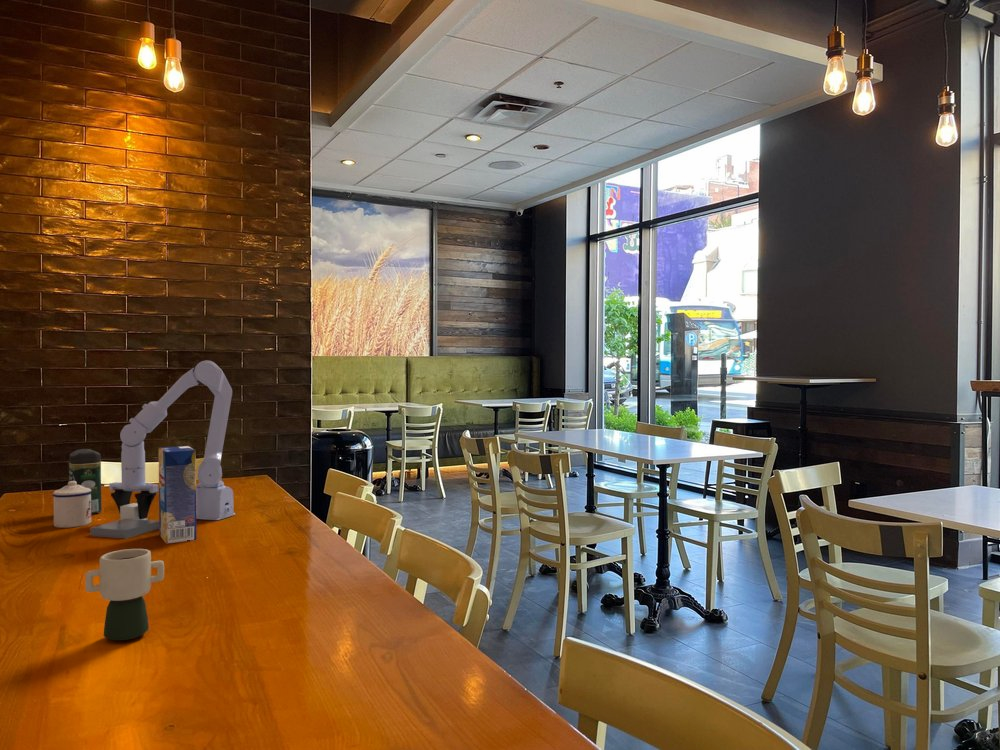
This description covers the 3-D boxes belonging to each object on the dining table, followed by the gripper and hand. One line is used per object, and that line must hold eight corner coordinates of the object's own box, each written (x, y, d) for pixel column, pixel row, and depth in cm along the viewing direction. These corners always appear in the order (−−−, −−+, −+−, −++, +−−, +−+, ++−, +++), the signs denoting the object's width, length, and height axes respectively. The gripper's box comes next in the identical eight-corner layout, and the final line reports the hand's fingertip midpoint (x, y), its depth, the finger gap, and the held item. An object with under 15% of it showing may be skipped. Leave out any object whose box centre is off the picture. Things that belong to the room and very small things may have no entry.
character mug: (160, 622, 116) (159, 544, 116) (168, 636, 110) (167, 553, 110) (84, 637, 110) (83, 554, 109) (88, 652, 104) (87, 565, 103)
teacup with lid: (95, 524, 189) (95, 481, 189) (56, 530, 183) (55, 485, 182) (85, 517, 198) (85, 476, 197) (47, 522, 192) (47, 480, 191)
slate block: (159, 530, 184) (159, 520, 184) (125, 540, 173) (125, 530, 173) (125, 528, 187) (125, 518, 187) (90, 537, 176) (90, 527, 176)
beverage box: (188, 531, 181) (187, 445, 181) (196, 539, 172) (195, 450, 171) (159, 534, 177) (158, 447, 177) (166, 543, 168) (165, 452, 168)
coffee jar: (67, 512, 205) (67, 448, 205) (98, 508, 210) (98, 446, 210) (71, 517, 198) (71, 452, 197) (103, 514, 202) (103, 449, 202)
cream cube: (147, 522, 192) (147, 503, 192) (134, 525, 188) (134, 507, 187) (133, 521, 193) (133, 503, 193) (120, 524, 189) (120, 506, 189)
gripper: (99, 469, 188) (100, 519, 189) (143, 471, 184) (144, 522, 185) (120, 465, 195) (121, 514, 195) (163, 467, 191) (164, 516, 191)
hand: (133, 517), depth 190 cm, fingers open, 6 cm apart
